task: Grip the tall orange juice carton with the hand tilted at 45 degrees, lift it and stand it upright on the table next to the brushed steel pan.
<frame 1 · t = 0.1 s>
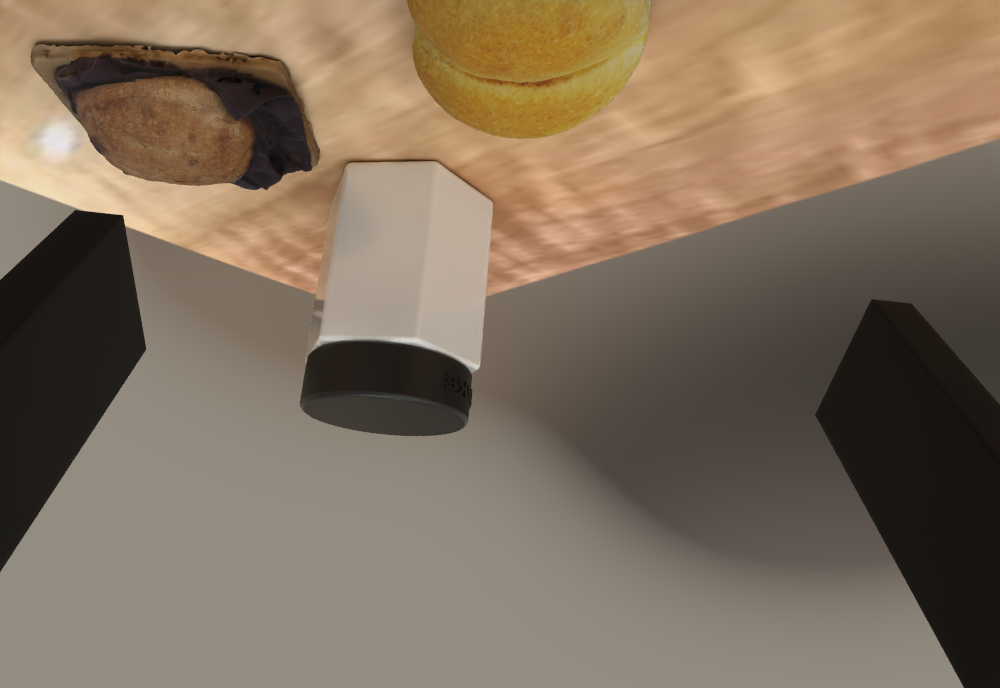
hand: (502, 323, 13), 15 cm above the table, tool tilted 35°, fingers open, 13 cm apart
jar: (411, 197, 40), on the table
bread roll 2: (189, 103, 34), on the table
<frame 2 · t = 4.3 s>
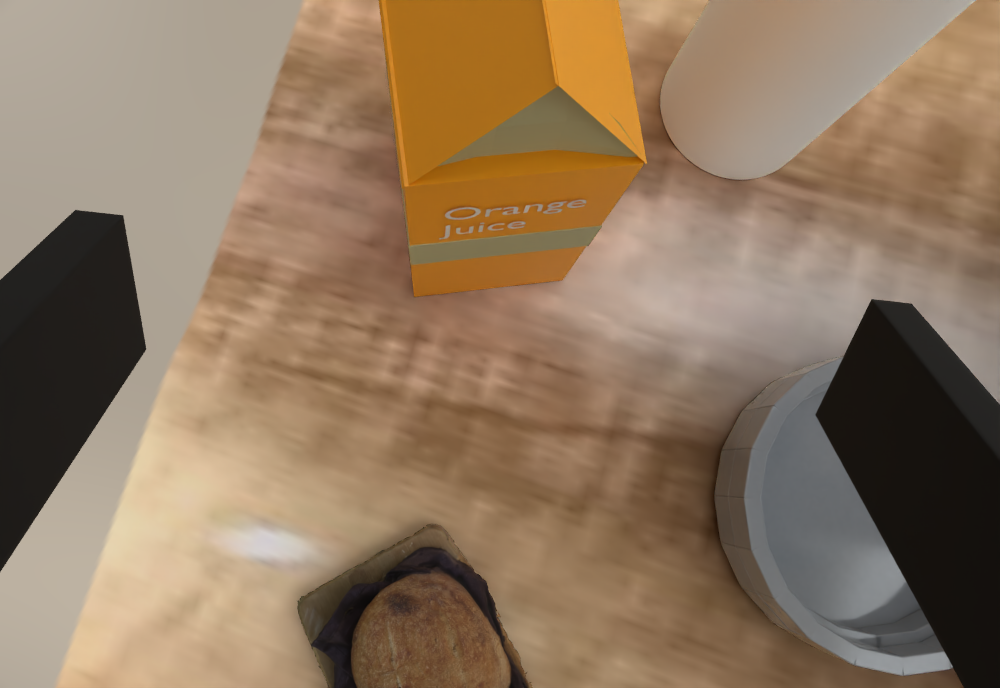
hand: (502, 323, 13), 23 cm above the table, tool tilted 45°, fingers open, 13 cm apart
pan: (848, 503, 37), on the table
orange juice: (478, 206, 38), on the table
cup: (732, 109, 40), on the table
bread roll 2: (421, 660, 34), on the table
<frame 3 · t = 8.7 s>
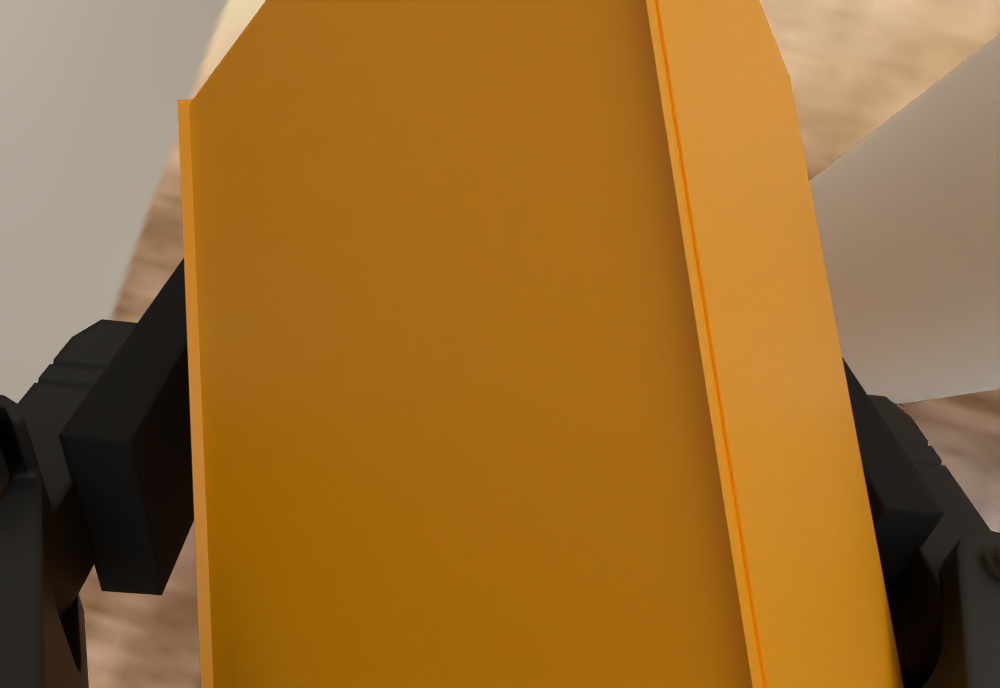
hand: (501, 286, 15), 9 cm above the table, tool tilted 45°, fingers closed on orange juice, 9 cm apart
orange juice: (473, 461, 23), on the table, touching gripper
cup: (876, 283, 25), on the table
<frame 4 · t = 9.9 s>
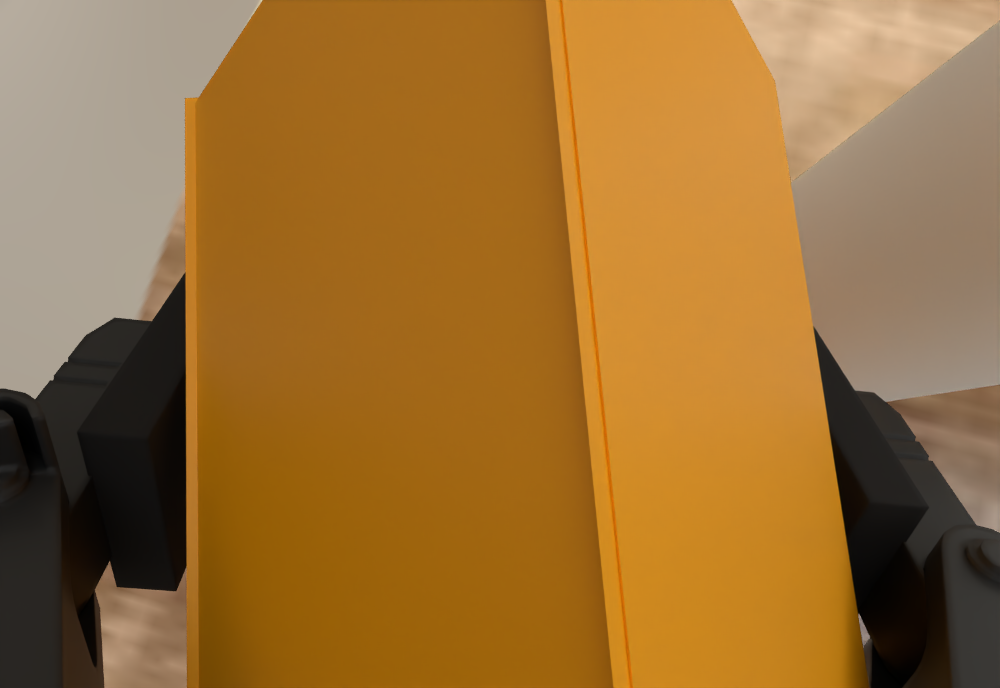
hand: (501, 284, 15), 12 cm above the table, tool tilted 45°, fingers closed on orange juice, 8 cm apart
orange juice: (483, 458, 23), point 3 cm above the table, touching gripper
cup: (811, 302, 28), on the table
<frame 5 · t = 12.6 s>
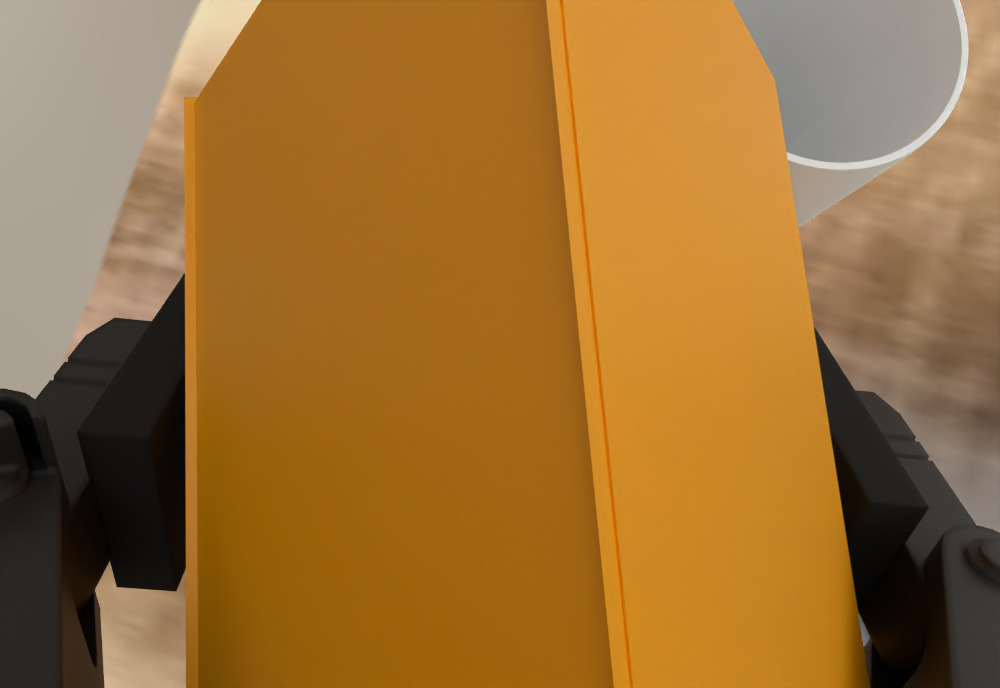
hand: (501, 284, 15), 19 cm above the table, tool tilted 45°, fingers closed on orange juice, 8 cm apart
orange juice: (483, 458, 23), point 10 cm above the table, touching gripper
cup: (648, 223, 36), on the table
when the fingers open (9 cm above the table, at t = 15.7 s): orange juice stays where it is, on the table.
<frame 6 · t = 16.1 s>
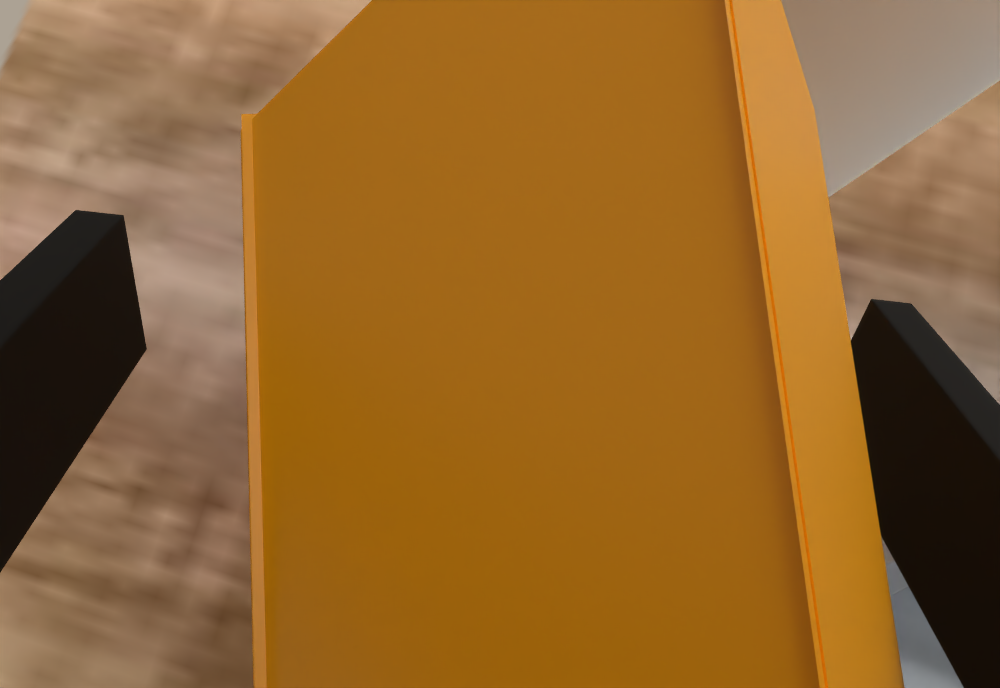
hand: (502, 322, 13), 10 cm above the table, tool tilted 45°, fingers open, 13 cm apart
orange juice: (480, 459, 23), on the table
cup: (722, 128, 26), on the table
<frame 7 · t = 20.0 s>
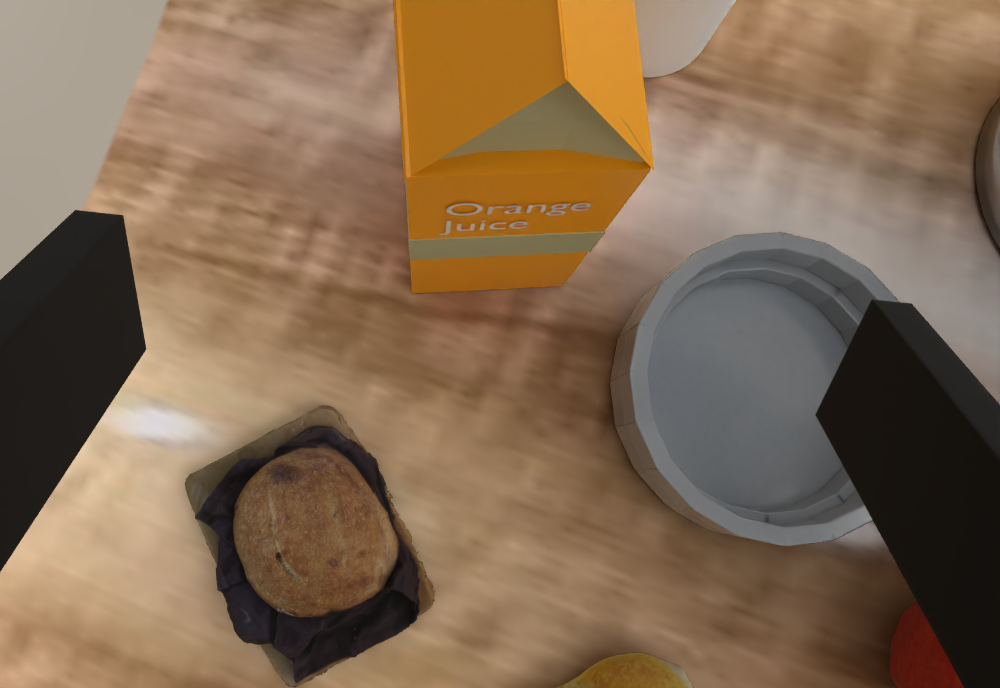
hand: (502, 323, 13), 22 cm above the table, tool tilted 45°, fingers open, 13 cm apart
pan: (745, 392, 37), on the table
apple: (932, 652, 36), on the table
orange juice: (481, 207, 38), on the table
cup: (638, 10, 40), on the table
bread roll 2: (312, 540, 34), on the table
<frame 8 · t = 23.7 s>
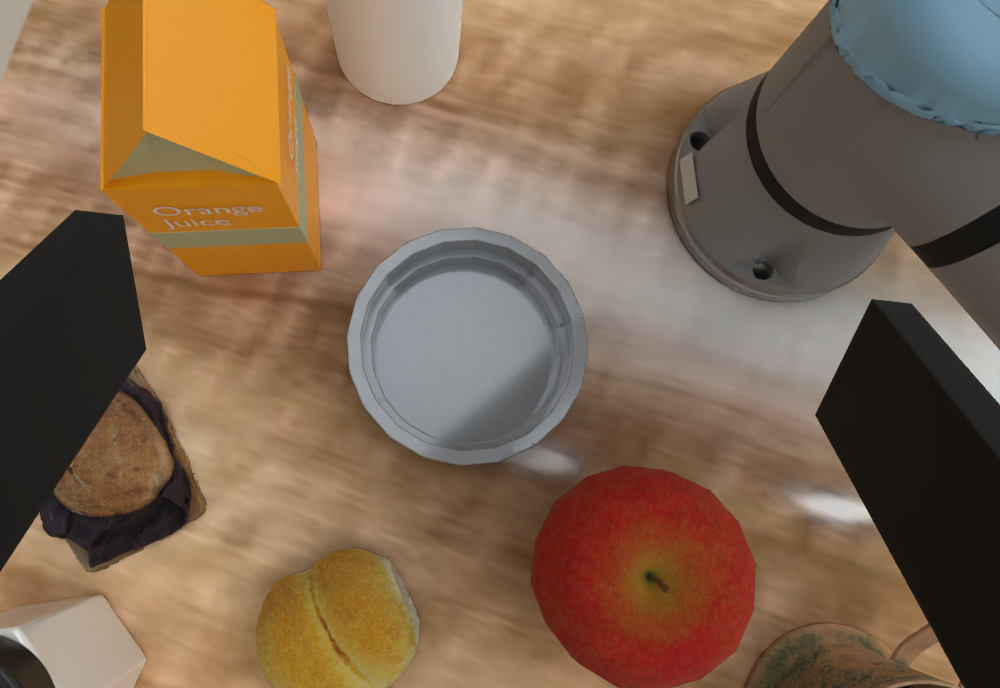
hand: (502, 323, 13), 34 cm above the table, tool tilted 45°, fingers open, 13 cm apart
mug: (853, 677, 47), on the table
pan: (465, 353, 47), on the table
bread roll: (343, 621, 44), on the table
apple: (604, 555, 46), on the table
orange juice: (260, 208, 48), on the table
jar: (67, 670, 42), on the table
cup: (398, 50, 51), on the table
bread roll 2: (112, 463, 44), on the table
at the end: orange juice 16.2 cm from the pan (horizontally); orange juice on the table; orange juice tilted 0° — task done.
